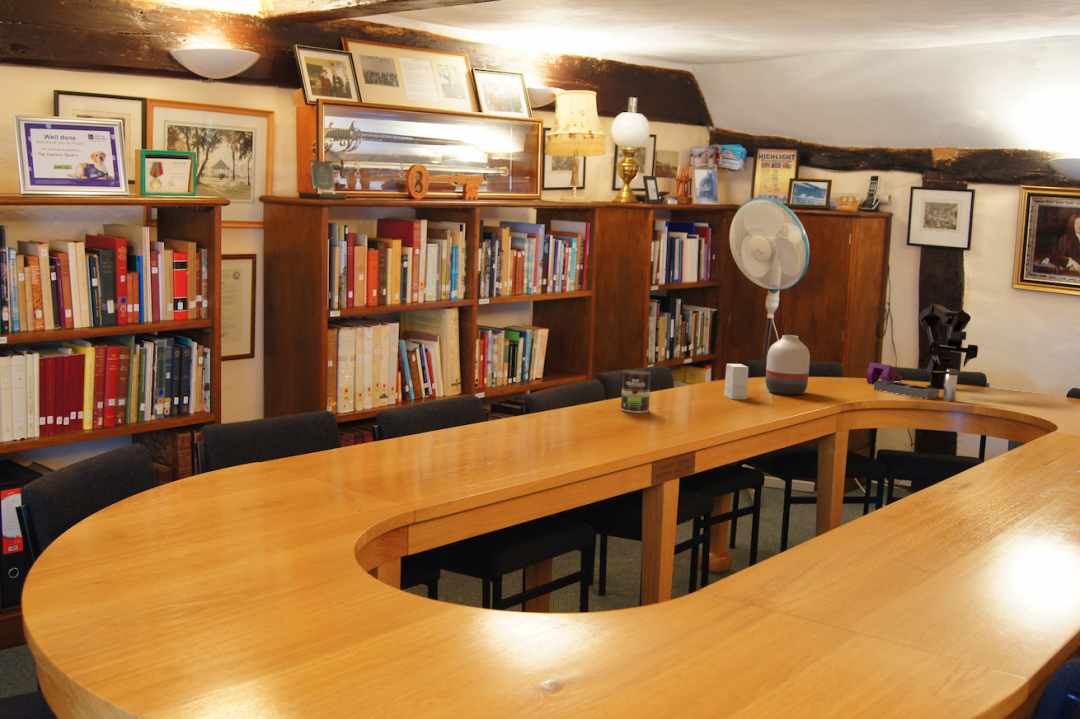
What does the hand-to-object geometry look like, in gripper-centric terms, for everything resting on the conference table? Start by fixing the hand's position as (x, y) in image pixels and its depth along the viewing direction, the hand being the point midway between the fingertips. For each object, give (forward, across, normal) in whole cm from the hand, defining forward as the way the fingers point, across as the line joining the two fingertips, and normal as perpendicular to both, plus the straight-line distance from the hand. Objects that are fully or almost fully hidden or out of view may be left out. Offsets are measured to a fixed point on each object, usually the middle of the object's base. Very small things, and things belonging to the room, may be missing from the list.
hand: (951, 365), depth 396 cm
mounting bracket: (-5, -26, +25) cm, 37 cm away
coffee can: (+81, -106, -62) cm, 147 cm away
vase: (+32, -62, -12) cm, 71 cm away
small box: (+48, -79, -28) cm, 96 cm away
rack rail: (+11, -17, +9) cm, 22 cm away
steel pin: (+15, 0, +4) cm, 16 cm away
